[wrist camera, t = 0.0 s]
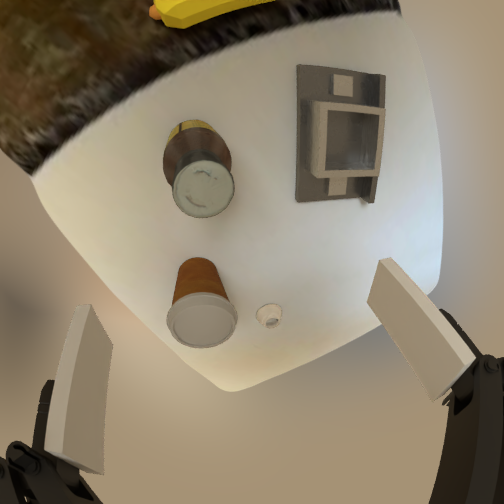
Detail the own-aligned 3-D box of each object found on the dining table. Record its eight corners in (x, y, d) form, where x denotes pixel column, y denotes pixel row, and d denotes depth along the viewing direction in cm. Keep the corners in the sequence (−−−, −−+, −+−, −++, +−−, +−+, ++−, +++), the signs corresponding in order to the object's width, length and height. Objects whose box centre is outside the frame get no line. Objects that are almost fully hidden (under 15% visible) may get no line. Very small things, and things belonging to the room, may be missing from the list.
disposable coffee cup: (237, 275, 46) (252, 328, 37) (193, 303, 48) (199, 358, 38) (202, 237, 41) (208, 289, 31) (156, 270, 43) (151, 326, 33)
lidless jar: (252, 319, 53) (274, 322, 55) (255, 330, 51) (278, 332, 53) (262, 301, 51) (285, 304, 53) (265, 312, 49) (289, 315, 51)
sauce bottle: (182, 171, 35) (178, 252, 19) (160, 132, 32) (129, 177, 15) (225, 150, 35) (262, 211, 19) (205, 109, 31) (223, 127, 15)
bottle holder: (296, 65, 30) (312, 62, 26) (370, 74, 32) (392, 75, 27) (295, 199, 41) (308, 213, 37) (361, 194, 43) (379, 207, 39)
